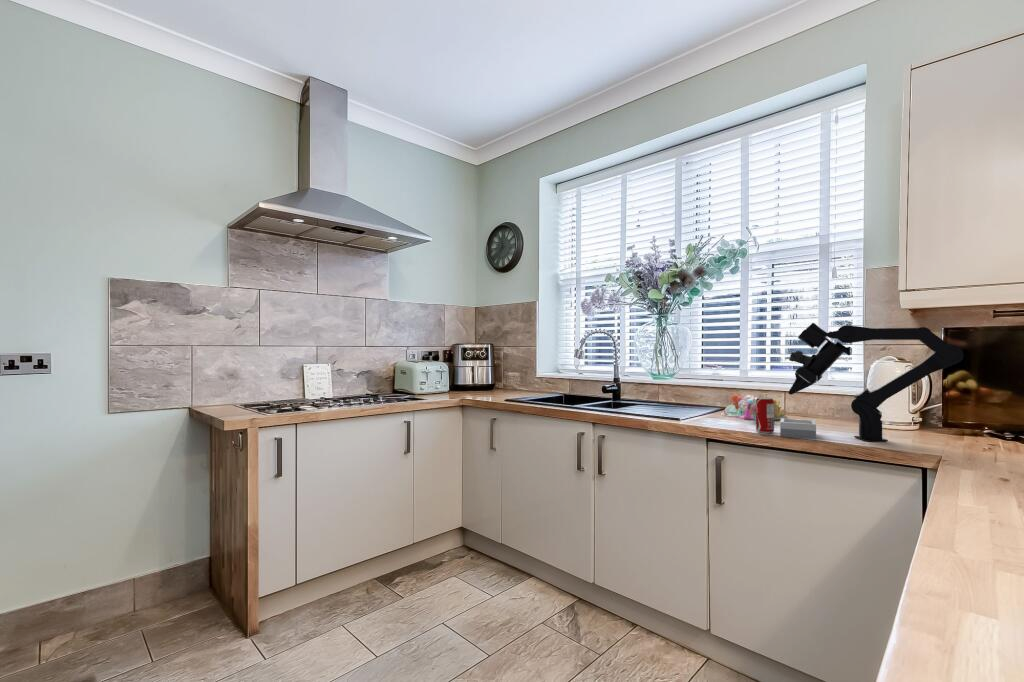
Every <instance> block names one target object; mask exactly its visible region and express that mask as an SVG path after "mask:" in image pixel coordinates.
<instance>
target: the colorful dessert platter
mask: <svg viewBox="0 0 1024 682" xmlns="http://www.w3.org/2000/svg"><path fill="white" fill-rule="evenodd" d="M756 399H757V397H755V396H754V395H750V394H747V395H746V396H745V397H744V398H743V397H742V396H740V395H739V394H737V393H734V394H732V395H731V396H730V400H731V402H732V404H731V405H727V406H726V407H725V409H723V412H721V413H720V415H721V416H723V417H728V418H737V419H741V420H753V421H755V418H754V416H753V414H752V413H750V409H751V407H753V406H754V405H756ZM773 402H774V410H775V414H774V421H775V420H781V418H788V416H787V414H786V413H787V412H786V411H785V409H784V408H782V406H781V405H780V403H781V401H780V400H778V399H777V398H773Z"/></svg>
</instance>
